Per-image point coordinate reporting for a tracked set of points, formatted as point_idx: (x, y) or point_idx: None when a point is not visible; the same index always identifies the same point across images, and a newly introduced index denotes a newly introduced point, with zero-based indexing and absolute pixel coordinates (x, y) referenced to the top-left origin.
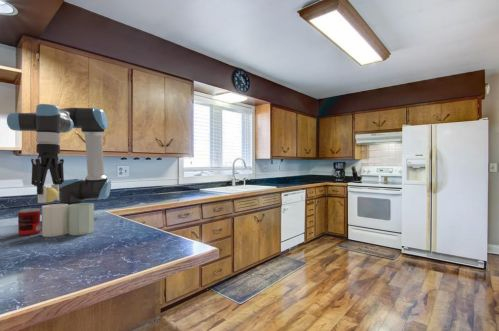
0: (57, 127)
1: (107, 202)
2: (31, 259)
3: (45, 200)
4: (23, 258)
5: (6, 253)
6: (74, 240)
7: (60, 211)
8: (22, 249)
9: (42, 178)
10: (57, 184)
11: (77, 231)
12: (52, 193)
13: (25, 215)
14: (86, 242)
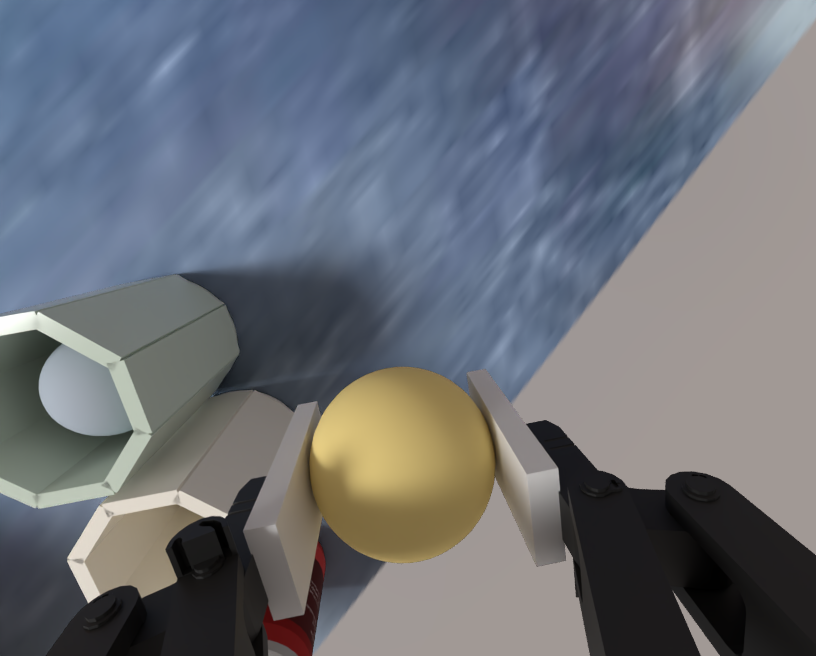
0: None
1: None
2: (598, 164)
3: (477, 380)
4: (590, 214)
5: (544, 352)
6: (313, 235)
7: (209, 469)
8: (489, 343)
9: (669, 587)
10: (250, 554)
11: (220, 311)
12: (430, 385)
13: (300, 635)
14: (325, 130)
